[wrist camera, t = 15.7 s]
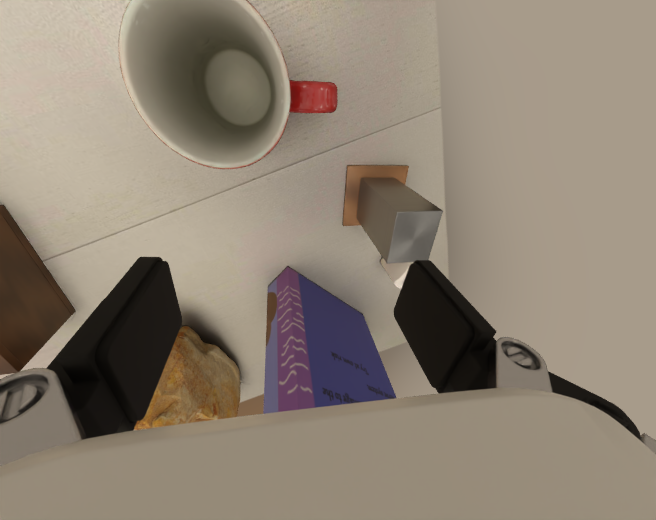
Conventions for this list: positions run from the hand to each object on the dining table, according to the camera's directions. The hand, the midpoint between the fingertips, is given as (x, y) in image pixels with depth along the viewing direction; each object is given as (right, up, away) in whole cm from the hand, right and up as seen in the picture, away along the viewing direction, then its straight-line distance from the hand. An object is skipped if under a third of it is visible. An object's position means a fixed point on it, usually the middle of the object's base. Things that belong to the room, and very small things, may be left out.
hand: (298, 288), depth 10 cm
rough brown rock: (-24, -16, +34) cm, 45 cm away
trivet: (+7, +10, +24) cm, 27 cm away
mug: (-6, +18, +16) cm, 25 cm away
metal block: (+7, +9, +24) cm, 26 cm away
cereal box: (0, -6, +33) cm, 33 cm away
